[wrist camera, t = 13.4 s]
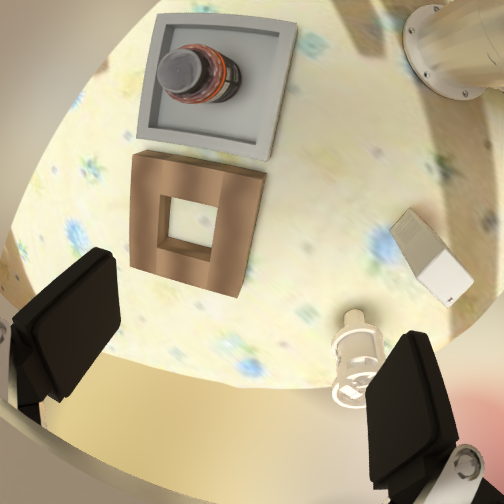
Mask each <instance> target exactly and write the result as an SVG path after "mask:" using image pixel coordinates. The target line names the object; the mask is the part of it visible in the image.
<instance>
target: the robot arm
mask: <svg viewBox="0 0 504 504" xmlns="http://www.w3.org/2000/svg"><path fill="white" fill-rule="evenodd" d="M434 10H435V11H436V12H435V11H434ZM408 31H410V32H411V34H410V33H409V32H408ZM403 45H404V50H405V53H406V56H407V59H408V61H409V63H410V65H411V67H412V69H413V70H414V71H415V73H416V74H417V76H418V77H419V78H420V79H421V80H422V81H423V82H424V83H425V85H427V86H428V87H429V88H430V89H432V90H433V91H434V92H436V93H438V94H440V95H441V96H444V97H446V98H449V99H453V100H471V99H474V98H476V97H478V96H480V95H481V94H482V93H483V92H484V91H485V90H486V89H487V87H491V88H493V89H495V90H496V89H499V90H501V91H502V92H503V93H504V0H453V1H452V2H450V3H449V4H447V5H446V6H444V5H439V4H430V5H424V6H422V7H420V8H418V9H416V10H415V11H414V12H413V13H412V14H411V15H410V16H409V17H408V18H407V20H406V22H405V25H404V29H403ZM424 74H426V77H425V76H424ZM463 94H464V95H463ZM12 320H13V322H14V323H13V324H12V325H11V326H10V325H9V323H8V322H7V321H6V320H5V319H3V318H0V504H215V503H211V502H208V501H204V500H200V499H197V498H193V497H190V496H186V495H184V494H180V493H177V492H174V491H171V490H168V489H166V488H163V487H160V486H157V485H155V484H152V483H149V482H147V481H144V480H142V479H139V478H137V477H135V476H132V475H130V474H128V473H125V472H123V471H121V470H119V469H117V468H114V467H112V466H110V465H108V464H106V463H104V462H102V461H100V460H98V459H96V458H94V457H92V456H90V455H89V454H87V453H85V452H83V451H81V450H79V449H78V448H76V447H74V446H72V445H71V444H69V443H67V442H66V441H64V440H62V439H61V438H59V437H57V436H56V435H54V434H53V433H51V432H49V431H48V430H47V425H46V418H45V409H44V399H45V397H46V396H47V395H48V396H49V397H51V398H52V399H54V400H56V401H57V402H59V403H60V402H61V401H62V400H63V398H64V397H65V398H66V397H68V396H70V394H71V393H72V392H73V390H74V389H75V387H76V386H77V385H78V383H79V382H80V380H81V379H82V377H83V376H84V375H85V373H86V372H87V370H88V369H89V368H90V366H91V365H92V364H93V362H94V361H95V359H96V358H97V357H98V355H99V354H100V353H101V351H102V350H103V349H104V347H105V346H106V345H107V343H108V342H109V341H110V339H111V338H112V337H113V335H114V334H115V333H116V331H117V330H118V328H119V326H120V323H121V316H120V306H119V296H118V284H117V269H116V259H115V258H114V257H113V255H112V253H111V252H110V251H107V250H104V249H101V248H98V247H94V248H93V249H91V250H90V251H89V252H87V253H86V254H85V255H84V256H82V257H81V258H80V259H79V260H77V261H76V262H75V263H74V264H73V265H71V266H70V267H69V268H68V269H67V270H65V271H64V272H63V273H62V274H61V275H59V276H58V277H57V278H56V279H55V280H53V281H52V282H51V283H50V284H49V285H48V286H47V287H45V288H44V289H43V290H42V291H41V292H40V293H39V294H38V295H36V296H35V297H34V298H33V299H32V300H31V301H30V302H29V303H28V304H26V305H25V306H24V307H23V308H22V309H21V310H20V311H19V312H18V313H17V314H16V315H15V316H14V317H13V318H12ZM365 398H366V409H367V410H366V411H367V425H368V441H369V471H370V472H369V475H370V480H371V482H373V485H374V486H373V489H374V490H377V489H378V490H381V489H388V495H389V496H388V497H387V498H386V500H385V501H384V502H383V503H382V504H504V495H503V494H502V493H501V492H499V491H498V490H497V489H496V488H495V487H494V486H492V485H491V484H490V483H489V482H488V481H487V480H486V479H484V478H483V473H484V460H483V457H482V456H481V453H480V452H479V451H478V450H477V449H476V448H475V447H473V446H472V445H469V444H461V445H459V446H457V447H456V441H458V440H459V436H458V432H457V428H456V424H455V420H454V416H453V412H452V408H451V405H450V401H449V398H448V394H447V391H446V388H445V385H444V381H443V378H442V375H441V372H440V369H439V366H438V363H437V360H436V357H435V354H434V352H433V349H432V346H431V343H430V341H429V338H428V336H427V334H426V333H422V332H417V331H412V330H411V331H409V332H407V334H403V335H402V336H401V337H400V339H399V341H398V342H397V344H396V345H395V347H394V348H393V350H392V351H391V353H390V354H389V356H388V357H387V359H386V360H385V362H384V363H383V365H382V366H381V368H380V369H379V371H378V372H377V373H376V375H375V376H374V378H373V379H372V380H371V382H370V383H369V384H368V386H367V388H366V392H365Z"/></svg>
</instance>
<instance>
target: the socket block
mask: <svg viewBox="0 0 504 504" xmlns="http://www.w3.org/2000/svg"><path fill="white" fill-rule="evenodd" d="M266 174H267V173H262V172H258V171H254V170H249V169H245V168H240V167H235V166H231V165H226V164H221V163H216V162H211V161H206V160H201V159H196V158H190V157H185V156H179V155H173V154H167V153H161V152H155V151H148V150H145V151H142V152H139V153H136V154H134V155H133V156H132V170H131V189H130V225H129V246H130V267H133V268H136V269H139V270H143V271H146V272H149V273H152V274H155V275H159V276H162V277H165V278H169V279H172V280H175V281H179V282H182V283H185V284H189V285H192V286H196V287H199V288H203V289H206V290H210V291H213V292H217V293H220V294H224V295H227V296H231V297H235V298H238V295H239V293H240V290H241V287H242V285H243V281H244V276H245V271H246V267H247V262H248V257H249V253H250V248H251V243H252V239H253V234H254V229H255V225H256V220H257V215H258V211H259V206H260V201H261V197H262V192H263V188H264V183H265V178H266ZM171 197H175V198H179V199H184V200H188V201H192V202H197V203H201V204H205V205H210V206H214V207H218V211H217V217H216V224H215V230H214V237H213V244H212V248H208V247H204V246H201V245H197V244H193V243H189V242H185V241H182V240H178V239H174V238H170V237H168V227H169V214H170V202H171Z"/></svg>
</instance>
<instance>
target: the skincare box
mask: <svg viewBox="0 0 504 504" xmlns="http://www.w3.org/2000/svg"><path fill="white" fill-rule="evenodd" d="M390 232H391V234H392V236H393V238H394V239H395V241H396V243H397V244H398V246H399V248H400V250H401V251H402V253H403V255H404V257H405V259H406V260H407V262H408V264H409V266H410V268H411V269H412V271H413V273H414V275H415V277H416V279H417V280H418V281H419V282H420V283H422V284H423V285H424V286H425V287H426V288H427V289H428V290H429V291H430V292H431V294H432V295H433V296H435V297H436V298H437V299H438V300H439V301H440V302H441V303H442V304H443V305H444V306H445V307H447V308H449V307H450V306H451V305H452V304H453V303H454V302H455V301H456V300H457V299H458V298H459V297H460V296H461V295H462V294H463V293H464V292H465V291H466V290H467V289H468V288H469V287H470V286H471V285H472V284H473V283H474V279H473V278H472V277H471V275H470V274H469V273H468V271H467V270H466V269H465V268H464V266H463V265H462V264H461V262H460V261H459V260H458V259H457V257H456V256H455V255H454V254H453V253H452V251H451V250H450V249H449V248H448V247H447V245H446V244H445V243H444V242H443V241H442V240H441V238H440V237H439V236H438V235H437V234H436V233H435V232H434V231H433V230H432V229H431V228H430V227H429V226H428V225H427V224H426V223H425V222H424V221H423V220H422V219H421V218H420V217H419V216H418V215H417V214H416V213H415V212H414V211H413V210H412V209H411V208H409V209H408V210H407V211H406V213H405V214H404V215H403V216H402V217H401V218H400V219H399V221H398V222H397V223H396V224H395V225H394V226H393V227H392V228H391V229H390Z"/></svg>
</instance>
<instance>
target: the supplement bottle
mask: <svg viewBox="0 0 504 504" xmlns="http://www.w3.org/2000/svg"><path fill="white" fill-rule="evenodd" d="M157 78H158V81H159V83H160V85H161V86H162V87H163V88H164V89H165V91H166V93H167V94H168V95H169V96H170V97H171V98H172V99H174V100H176V101H178V102H181V103H186V104H215V103H222V102H225V101H227V100H229V99H230V98H232V97H233V96H234V95H235V94H236V93H237V91H238V90H239V88H240V84H241V72H240V69H239V67H238V66H237V64H236V63H235V62H234V61H233V60H231V59H230V58H228V57H226V56H225V55H223V54H221V53H219V52H217V51H216V50H214V49H212V48H210V47H208V46H206V45H202V44H188V45H184V46H181V47H180V48H178V49H175V50H173V51H171V52H169V53H168V54H166V55H165V56H164V57H163V58H162V60H161V61H160V63H159V65H158V69H157Z"/></svg>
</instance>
